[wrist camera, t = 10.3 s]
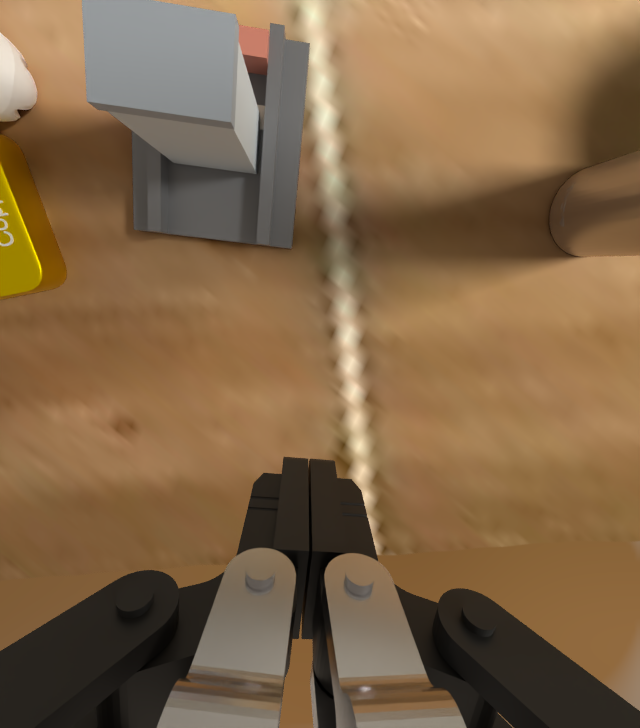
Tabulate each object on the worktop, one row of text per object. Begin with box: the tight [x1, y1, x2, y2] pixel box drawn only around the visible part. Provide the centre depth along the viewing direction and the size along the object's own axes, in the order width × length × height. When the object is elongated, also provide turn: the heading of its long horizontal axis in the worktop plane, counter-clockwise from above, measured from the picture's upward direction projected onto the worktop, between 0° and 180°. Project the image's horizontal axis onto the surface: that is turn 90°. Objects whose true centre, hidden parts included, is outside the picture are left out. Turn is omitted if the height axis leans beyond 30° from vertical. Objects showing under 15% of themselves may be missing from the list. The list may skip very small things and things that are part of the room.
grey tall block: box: [82, 0, 261, 174], centre depth 28 cm, size 8×5×14 cm, turn 84°
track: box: [132, 23, 310, 249], centre depth 34 cm, size 16×18×4 cm
